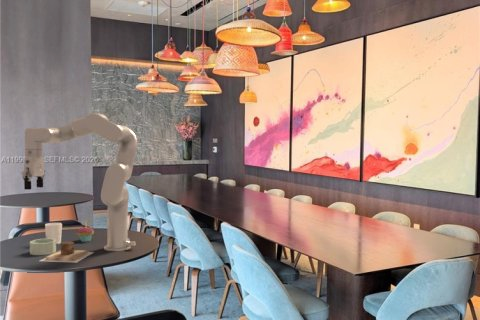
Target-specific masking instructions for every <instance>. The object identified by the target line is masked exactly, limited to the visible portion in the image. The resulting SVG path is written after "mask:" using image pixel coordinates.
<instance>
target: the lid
mask: <svg viewBox="0 0 480 320" xmlns="http://www.w3.org/2000/svg"><path fill="white" fill-rule="evenodd" d="M88 252H89V250H83V249H82V250H81V249H79V250H77V249H76V250H75V242H74V241H63V242H61V243H60V249H59V250H58V251H57V250H56V252H54V253H52V254H48V255H46V256H45V258H46V260H61V261H75V260H77V259H79V258H80V257H82V256H84V255H86V254H88Z"/></svg>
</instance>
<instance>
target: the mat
mask: <svg viewBox="0 0 480 320" xmlns="http://www.w3.org/2000/svg"><path fill="white" fill-rule="evenodd" d="M94 253H95V252H93V251H92V252H91V251H88V254H86V255H84V256H82V257H80V258H79V259H77V260H75V261H61V260H46V257H44V258H42V259H39V262H55V263H76V264H77V263H79V262H80V261H82V260H83V259H85V258H87V257H89V256H90V255H92V254H94Z"/></svg>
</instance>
